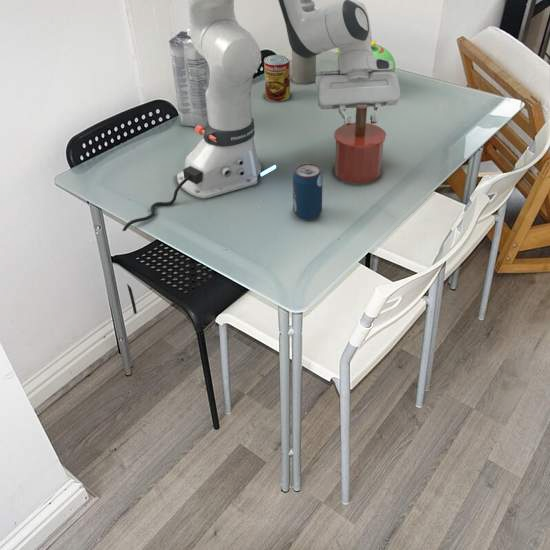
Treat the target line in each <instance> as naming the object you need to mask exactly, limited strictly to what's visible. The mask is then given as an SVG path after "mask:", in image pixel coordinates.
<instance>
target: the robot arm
mask: <svg viewBox="0 0 550 550" xmlns="http://www.w3.org/2000/svg"><path fill="white" fill-rule="evenodd" d="M277 1H278V4H279V8H280V11H281V13H282V17H283V20H284V23H285V28H286V34H287V39H288V42H289V46H290V48H291V51H292V50H293V51H294V52H295V53H296V54H298V55H299V56H301V57H304V58H307V59H308V58H311V57H313V56H315V55H316V56H317V55H318V56H319V55H320V54H321V53H325V52H328V51H332V50H334V49H337V50H338V51H339V54H337V68H338V70H337V69H336V70H329V71H327V70H322V71H320V72H319V73H317V74H316V78H315V81H314V82H315V86H316V88H317V89H318V93H317V106H318V107H319V109H320V110H337V109H338V113H339V115H340V116H341V118H342V119H343V125H351V123H352V116H350V115H348V114H347V113H346V109H354V108H355V109H356V106H357V105H358V104H365V105H367V108H369V107H370V108H372V107H373V111H375V112H374V114H371V115H370V117H369V120H370V124H373V125H376V124H378V122H379V120H378V119H379V118H378V115H379V114H380V113H379V112H380V111H381V109H382V107H388V106H389V107H390V106H396V105H397V104H398V103H399V102H400V100H401V98H402V97H401V96H402V95H401V86H400V83H399V79H398V76H397V74H396V72H395V73H394V72H392V71H393V62H391V61H389V60H384V59H381V58H377V57H374V56H373V52H372V49H371V41H372V40H373V36H372V29H371V21H370V17H369V14H368V10H367V7H366V5H365V4H364V3H363V2H361V1H358V0H340V1H337V2H334V3H331V4H328V5H326V6H324V7H320V8H317V9H316V10H315V11H312V12H305V11H303V10H302V7H301V4H300V0H277ZM187 7H188V17H189V28H188V29H189V34H190V38H191V41H192V43H193V45H194V47H195V49H196V51H197V52H198V53H199V54H200V55H201V56H202V57H203V58H204V59H205V60H206V61H207V63H208V66H209V69H210V81H209V87H208V89H207V90H206V94H205V96H206V105H207V115H208V121H207V124H206V128H203V127H202V126H200V125H198V126H196V127H194V132H195V133H196V134H198V135H199V136H203V138H202V139H201V140H200V141H199V142H198V143H197V145H196V146H195V147H194V148H193V149H192V150H191V151H190V153H188V154H187V156H186V157H185V160H184V168H183V169H182V171H180V172H179V173H177V176H176V181H177V184H178V185H177V187H175V189H174V192H173V197H172V199H171V200H170V201H167V202H166V201H165V202H164V201H163V202H162V201H158V202H157V201H156V202H154V203H153V204H152V205H151V206H150V211H151V213H150V214H149V215H147V216H144V217H138V218H135V219H132V220H130V221H128V222H127V223H126V224H125V225H124V226H123V228H122V229H121V231H122V232H125V231H127V230H128V228H129V227H131V225H133V224H135V223H141V222H144V221H145V222H146V221H148V220H151V219H152V218H153V217H154V216H155V213H156V212H155V211H156V210H155V207H158V206H166V207H168V206H171V205H172V204H174V203H175V202H176V200H177V196H178V193H179V190H180V189H181V188H182V189H183V190H184V191H185V192H187V193H188V194H189V195H191V196H193V197H196V198H200V199H210V198H212V197H213V198H214V197H216V196H219V195H220V196H221V195H224V194H227V193H230V192H234V191H238V190H241V189H244V188H247V187H252V186H255V185H256V184H258V177H259V175H260V177H263V176H265V175H267V174H268V173H270V172H272V171H274V170H275V169H276V168H277V165H276V164H274V165H272V166H271V167H269V168H267V169H265V170H263V171H262V165H261V163H260V161H259V158H258V154H257V150H256V144H255V138H254V137H255V131H256V130H255V120H254V118H253V111H252V84H253V79H254V75H255V74H256V72H257V71H258V70H259V68H260V66H261V62H262V52H261V48H260V46H259V44H258V42H257V41H256V39H255V38H254V36H253V35H252V34H251V33H250V31H248V30H247V29H246V28H244V27H242V26H241V25H240V24H239V22H238V20H237V18H236V15H235V14H236V13H235V0H187ZM261 171H262V172H261ZM126 286H127V290H128V293H129V297H130V301H131V305H132V311H133V314H134V315H136V314H138V312H137V306H136V302H135V297H134V294H133V290H132V287H131V286H130V285H129V284H128V283H126Z"/></svg>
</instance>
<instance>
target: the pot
mask: <svg viewBox="0 0 550 550" xmlns="http://www.w3.org/2000/svg"><path fill="white" fill-rule="evenodd" d="M383 150H384V142H383V143H382V144H380V145H378V146H376V147H372V148H366V149H356V148H350V147H346V146H343V145H341V144H340V143H338V142H337V141H336V140H335V151H334V152H335V153H334V155H335V156H334V174H335V175H336V177H337V178H339V179H340V180H342V181H344V182H347V183H351V184H365V183H366V184H367V183H370V182H372V181H375V180H377V179H378V178H379V176H381V172H382V160H383Z"/></svg>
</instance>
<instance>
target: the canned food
mask: <svg viewBox="0 0 550 550" xmlns="http://www.w3.org/2000/svg"><path fill="white" fill-rule="evenodd" d="M290 63H291V62H290V58H289V56H286V55H283V54H272V55H269V56H266V57H265V58H264V59H263V65H264V66H263V68H264V88H265V92H264V93H265V99H266V100H268V101H270V102H275V103H276V102H277V103H278V102H279V103H280V102H285V101H287V100H289V99H290V97H291V75H290V72H291V71H290V70H291V69H290Z"/></svg>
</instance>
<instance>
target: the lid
mask: <svg viewBox="0 0 550 550" xmlns="http://www.w3.org/2000/svg"><path fill="white" fill-rule="evenodd" d="M367 114H368V107H367V105H365V104H358V105H357V106H356V108H355V121H354V122H351V125H344V124H343V125H340V126H339V127H337V128H336V129H335V130H334V134H333V135H334V140H335V142H336V141H337V142H338V143H340V144H341V145H343V146H346V147H350V148H356V149H366V148H372V147H376V146H378V145H380V144H382V143H383V144H384V142H385V141H386V138H387V134H386V132H385V130H384V129H383V128H382V127H380V126H378V125H376V124H371V123H369V122H367V116H368V115H367Z"/></svg>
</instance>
